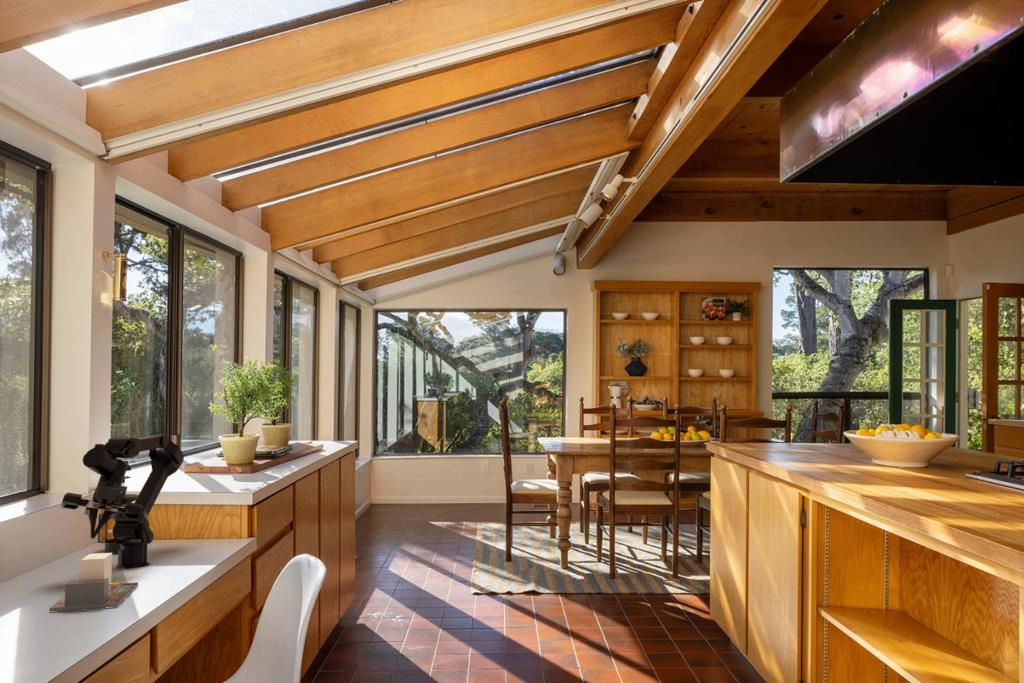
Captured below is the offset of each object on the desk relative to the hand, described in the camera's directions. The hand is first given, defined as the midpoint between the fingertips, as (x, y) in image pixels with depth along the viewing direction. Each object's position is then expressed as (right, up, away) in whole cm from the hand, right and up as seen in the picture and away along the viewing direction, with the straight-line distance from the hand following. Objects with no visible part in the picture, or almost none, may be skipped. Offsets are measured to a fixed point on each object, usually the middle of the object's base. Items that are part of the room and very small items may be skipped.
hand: (92, 538), depth 184 cm
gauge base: (+9, -11, -14) cm, 20 cm away
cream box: (+9, -9, -14) cm, 20 cm away
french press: (-13, -14, +36) cm, 41 cm away
